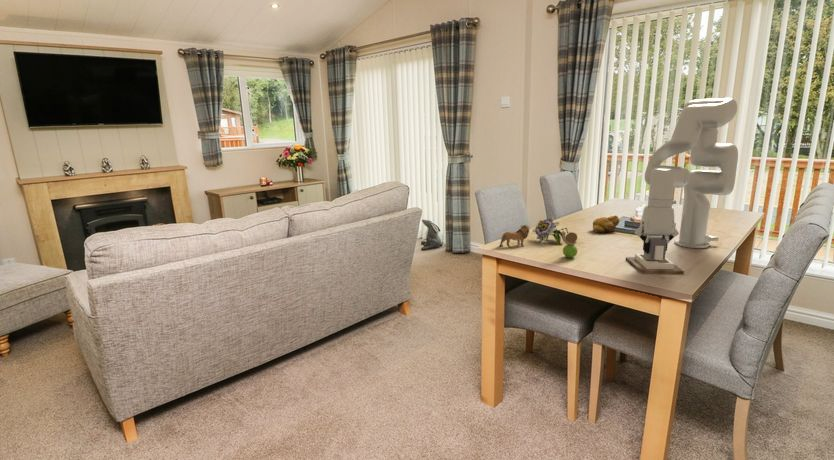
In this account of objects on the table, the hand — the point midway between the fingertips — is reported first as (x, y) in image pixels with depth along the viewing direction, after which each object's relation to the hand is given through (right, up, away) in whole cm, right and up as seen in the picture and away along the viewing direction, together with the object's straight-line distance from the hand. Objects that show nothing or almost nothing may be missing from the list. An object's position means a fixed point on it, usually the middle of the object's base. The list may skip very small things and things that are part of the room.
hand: (654, 252), depth 160 cm
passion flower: (-27, +3, +39) cm, 47 cm away
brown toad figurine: (+4, +7, +54) cm, 54 cm away
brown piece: (0, -5, +1) cm, 6 cm away
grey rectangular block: (0, -2, 0) cm, 2 cm away
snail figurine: (-26, -3, +14) cm, 30 cm away
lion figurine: (-44, +1, +33) cm, 55 cm away
